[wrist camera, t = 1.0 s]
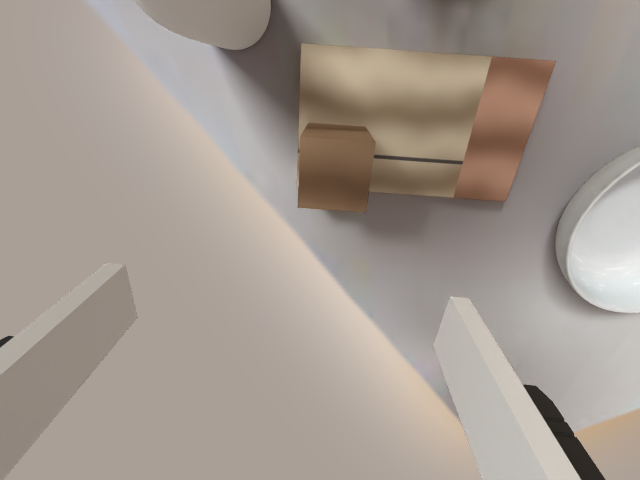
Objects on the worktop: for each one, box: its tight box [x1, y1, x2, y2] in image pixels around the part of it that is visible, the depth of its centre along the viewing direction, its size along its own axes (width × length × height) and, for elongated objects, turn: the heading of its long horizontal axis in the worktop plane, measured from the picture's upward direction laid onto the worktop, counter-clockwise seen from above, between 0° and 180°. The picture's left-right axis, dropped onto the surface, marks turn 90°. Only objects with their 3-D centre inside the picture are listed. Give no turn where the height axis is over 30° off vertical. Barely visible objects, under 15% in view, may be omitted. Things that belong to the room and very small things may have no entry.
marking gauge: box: [298, 123, 376, 213], centre depth 31 cm, size 8×6×11 cm
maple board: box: [297, 43, 556, 202], centre depth 34 cm, size 14×24×2 cm, turn 87°
